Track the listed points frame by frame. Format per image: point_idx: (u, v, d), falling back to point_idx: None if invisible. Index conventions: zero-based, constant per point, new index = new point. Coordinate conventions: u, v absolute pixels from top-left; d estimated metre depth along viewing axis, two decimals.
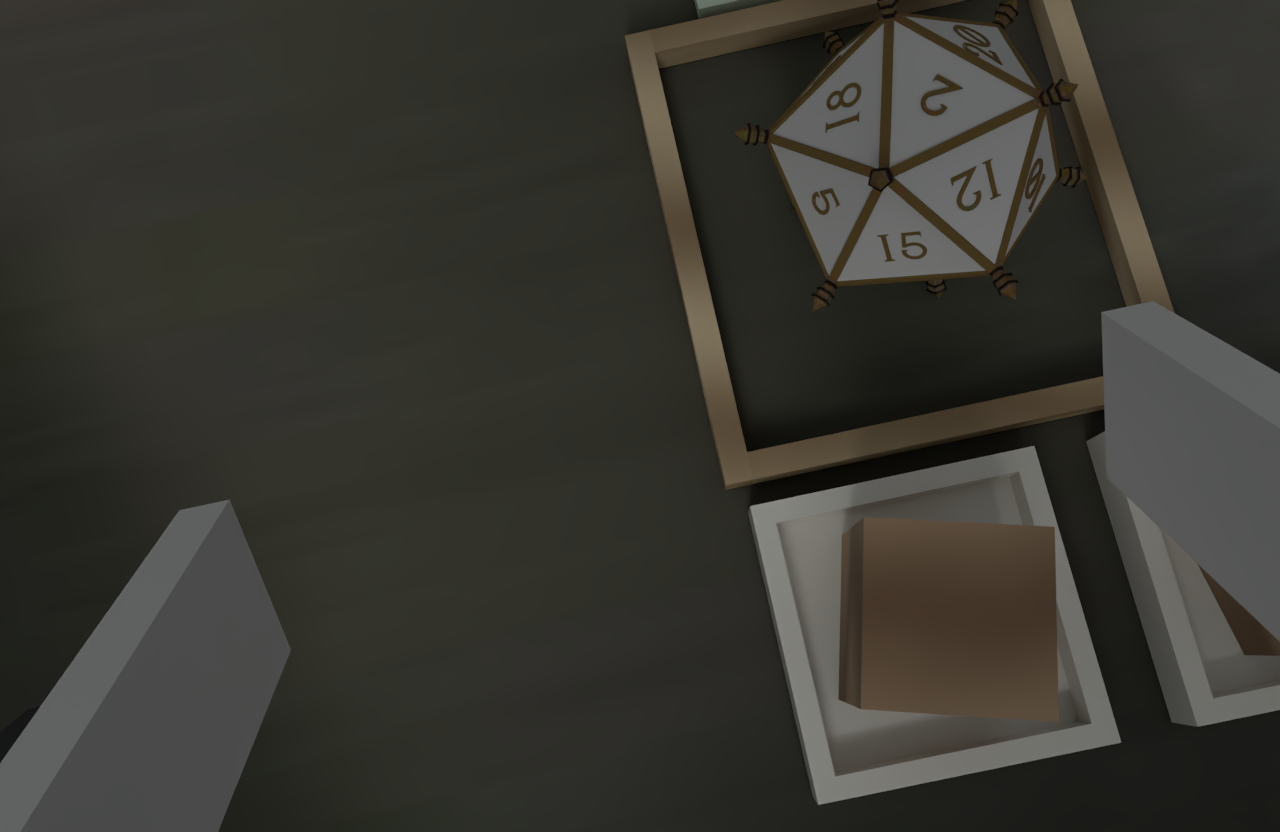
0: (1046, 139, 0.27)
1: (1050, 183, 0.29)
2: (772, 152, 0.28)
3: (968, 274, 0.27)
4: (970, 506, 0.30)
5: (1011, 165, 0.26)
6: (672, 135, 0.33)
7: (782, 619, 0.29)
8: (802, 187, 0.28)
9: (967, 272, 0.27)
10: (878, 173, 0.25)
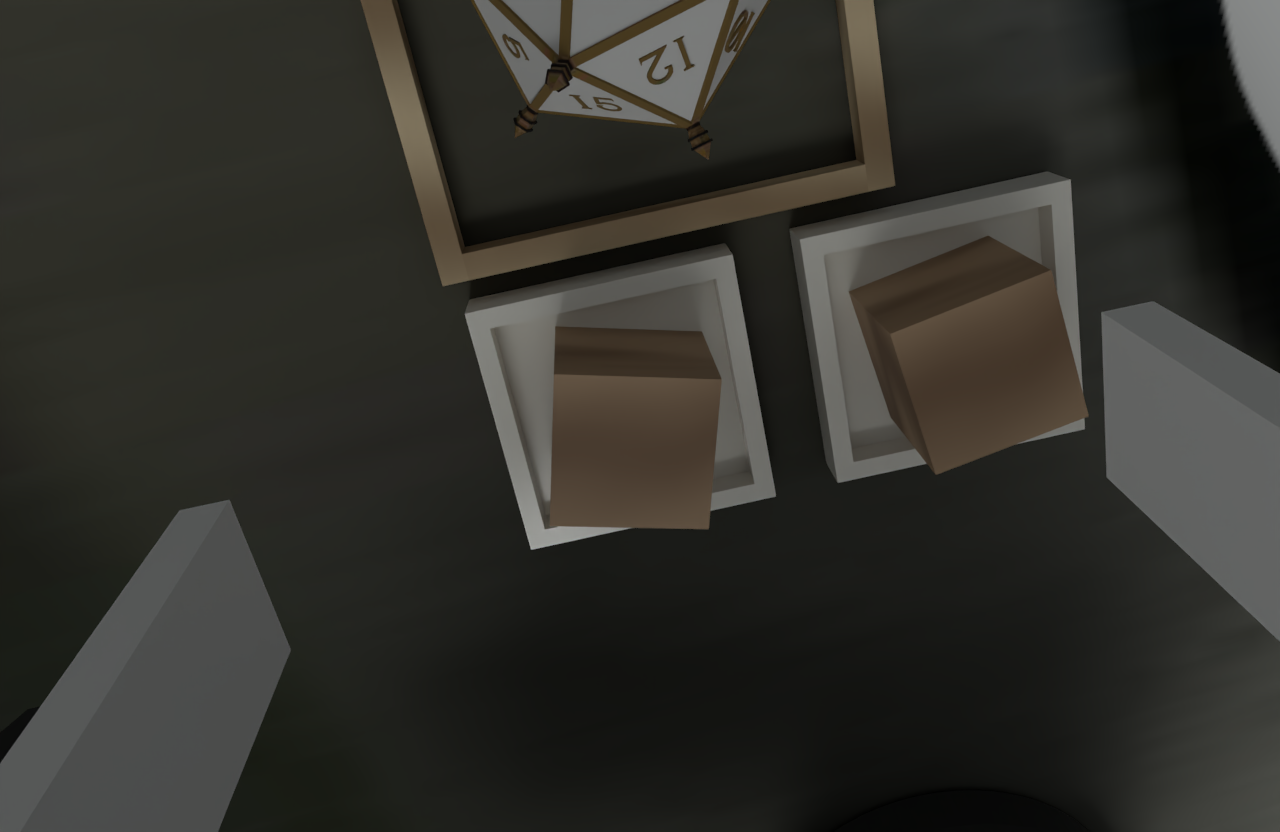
0: None
1: (766, 1, 0.27)
2: None
3: (666, 125, 0.27)
4: (674, 298, 0.32)
5: (705, 38, 0.24)
6: None
7: (497, 412, 0.32)
8: (492, 21, 0.25)
9: (665, 123, 0.27)
10: (554, 77, 0.23)
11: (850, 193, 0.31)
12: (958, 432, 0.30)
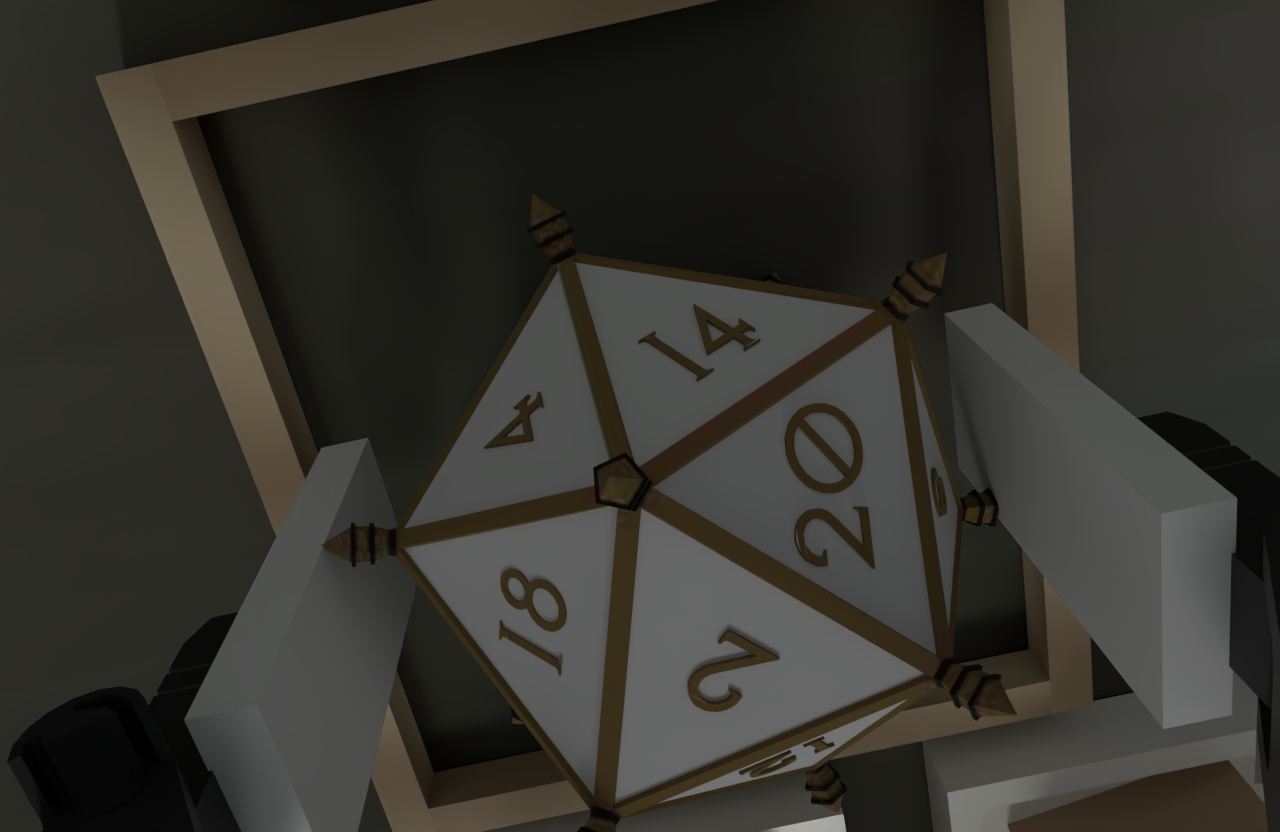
0: None
1: None
2: None
3: None
4: None
5: (860, 724, 0.13)
6: (240, 311, 0.16)
7: None
8: None
9: None
10: None
11: (1024, 717, 0.20)
12: None
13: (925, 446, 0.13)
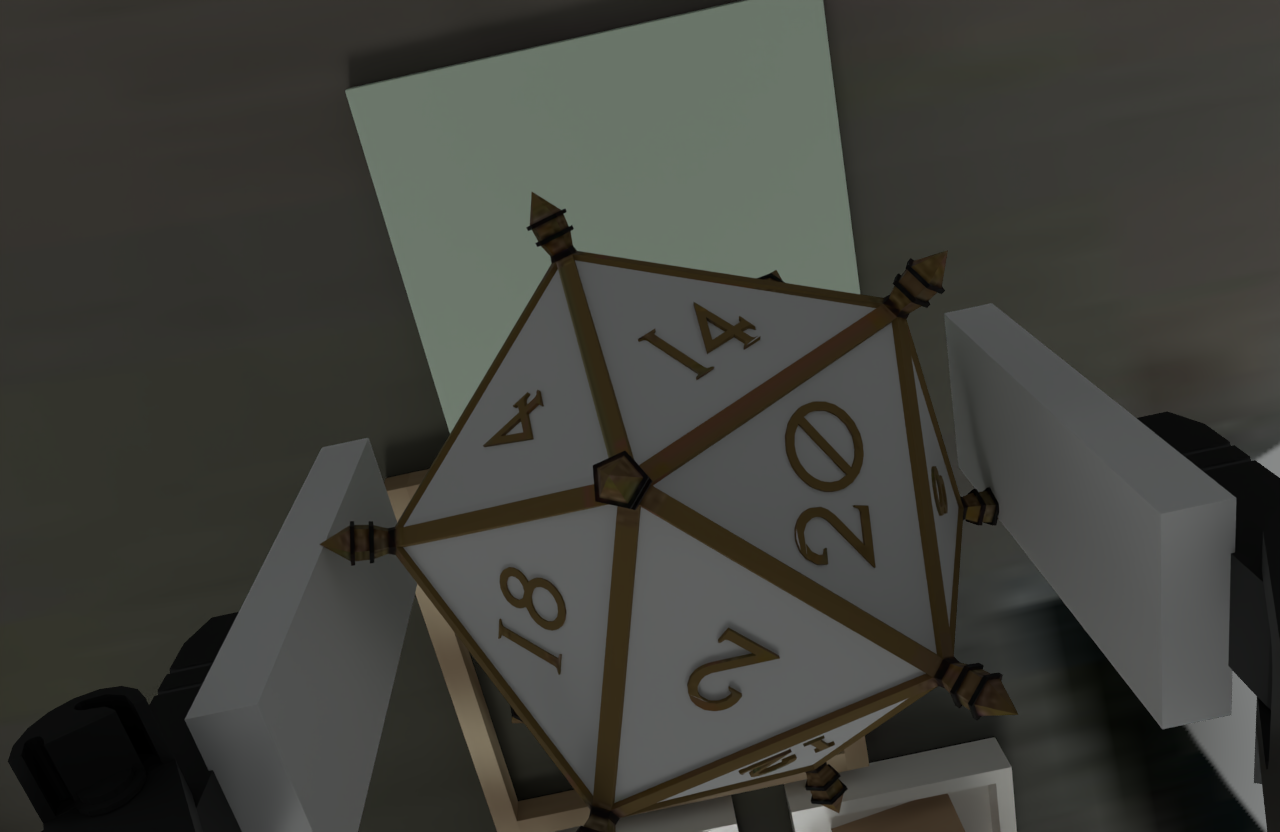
0: None
1: None
2: None
3: None
4: None
5: (861, 723, 0.13)
6: None
7: None
8: None
9: None
10: None
11: None
12: None
13: (926, 445, 0.13)
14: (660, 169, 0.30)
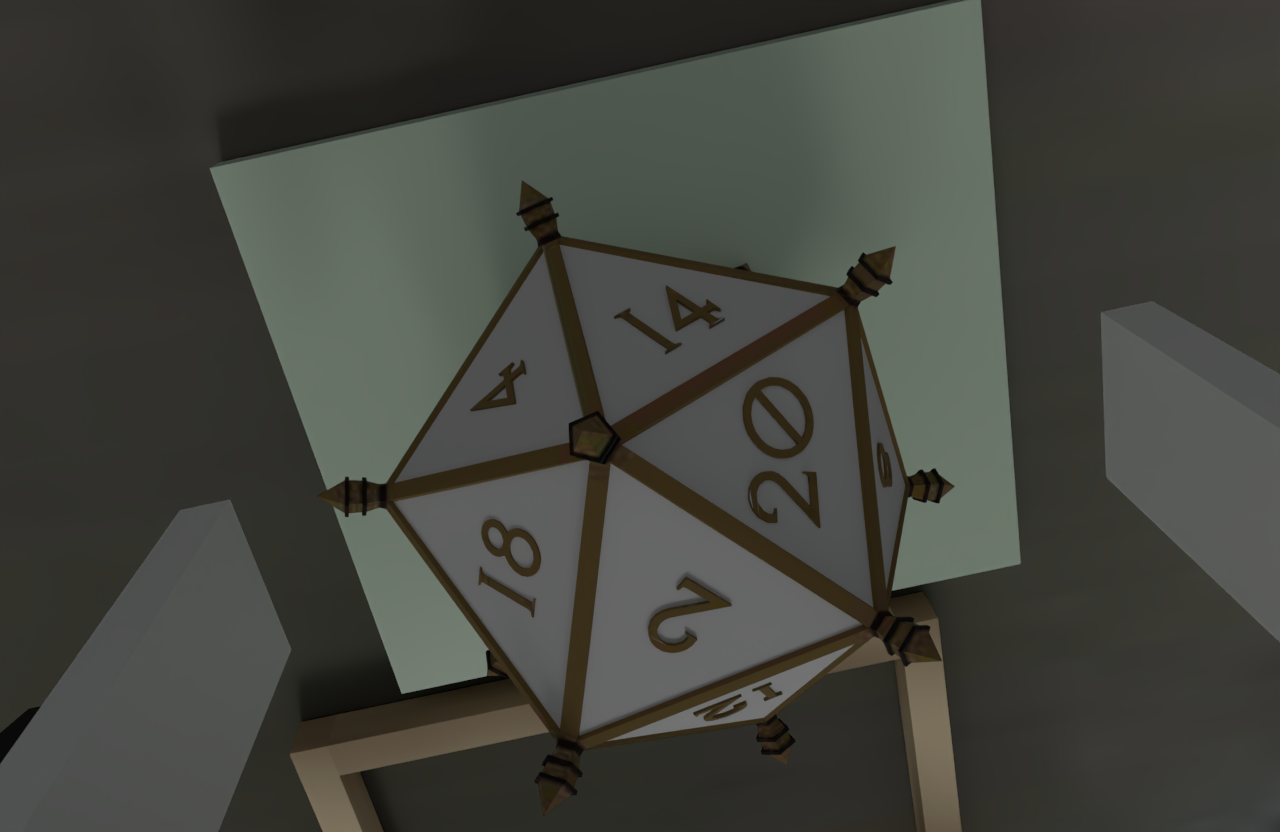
0: None
1: None
2: None
3: None
4: None
5: (805, 673, 0.14)
6: None
7: None
8: None
9: None
10: (550, 789, 0.13)
11: None
12: None
13: (872, 422, 0.15)
14: None
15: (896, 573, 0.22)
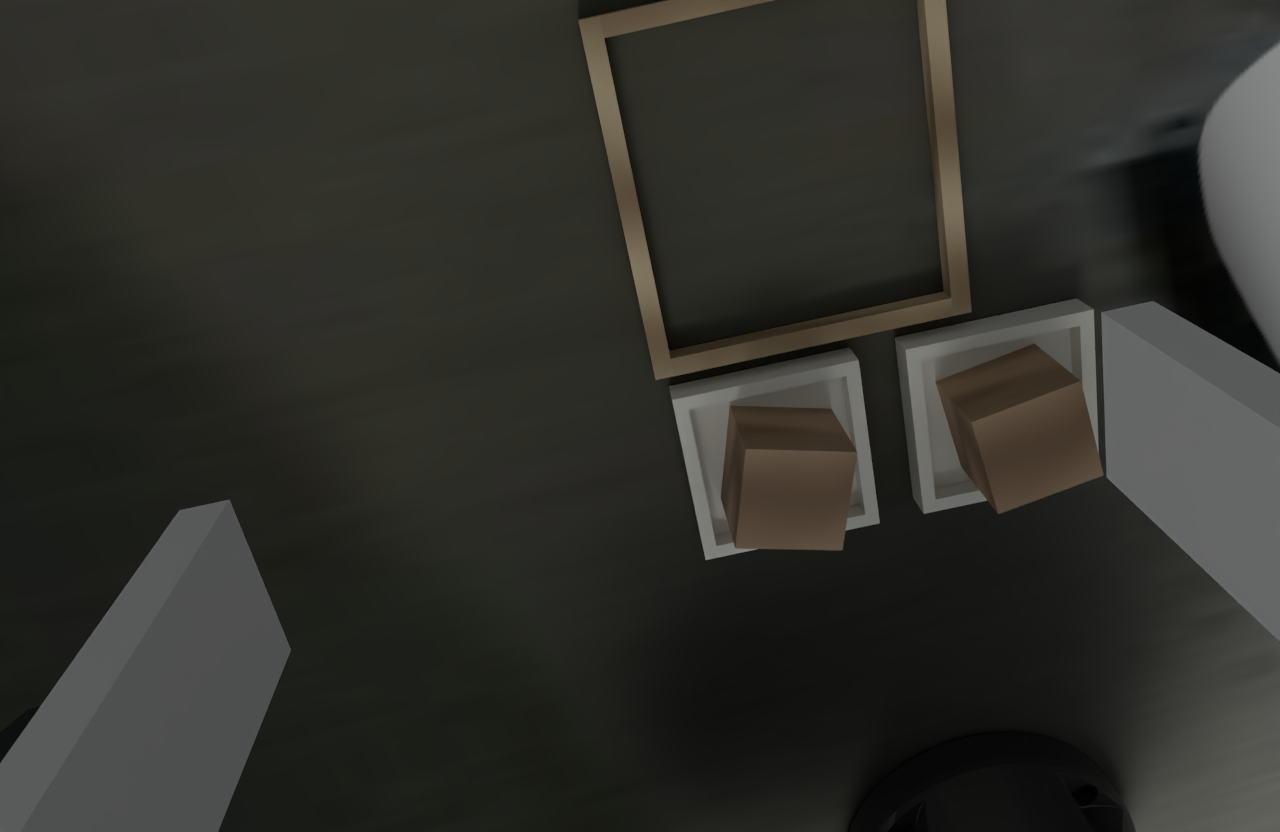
0: None
1: None
2: None
3: None
4: (813, 386, 0.46)
5: None
6: (619, 116, 0.41)
7: (689, 465, 0.46)
8: None
9: None
10: None
11: (940, 317, 0.45)
12: (1014, 486, 0.43)
13: None
14: None
15: None
